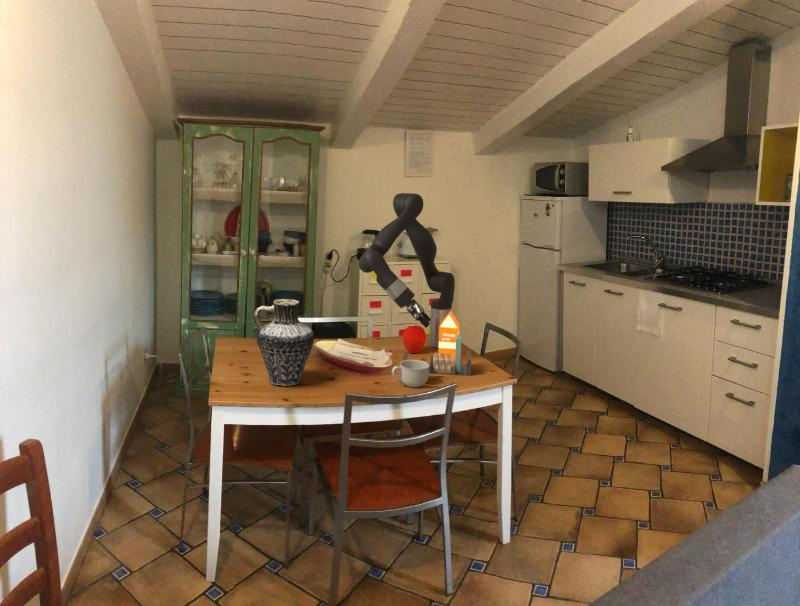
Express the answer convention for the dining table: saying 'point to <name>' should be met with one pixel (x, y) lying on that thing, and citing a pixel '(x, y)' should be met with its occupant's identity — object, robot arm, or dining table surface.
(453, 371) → the rack
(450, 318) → the orange juice
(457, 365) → the teal board
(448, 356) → the offcut
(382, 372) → the dining table surface
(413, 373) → the teacup
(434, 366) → the offcut
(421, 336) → the apple
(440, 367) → the offcut
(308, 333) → the jug
